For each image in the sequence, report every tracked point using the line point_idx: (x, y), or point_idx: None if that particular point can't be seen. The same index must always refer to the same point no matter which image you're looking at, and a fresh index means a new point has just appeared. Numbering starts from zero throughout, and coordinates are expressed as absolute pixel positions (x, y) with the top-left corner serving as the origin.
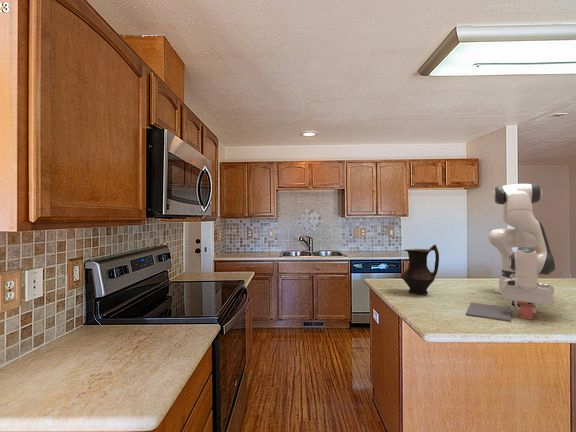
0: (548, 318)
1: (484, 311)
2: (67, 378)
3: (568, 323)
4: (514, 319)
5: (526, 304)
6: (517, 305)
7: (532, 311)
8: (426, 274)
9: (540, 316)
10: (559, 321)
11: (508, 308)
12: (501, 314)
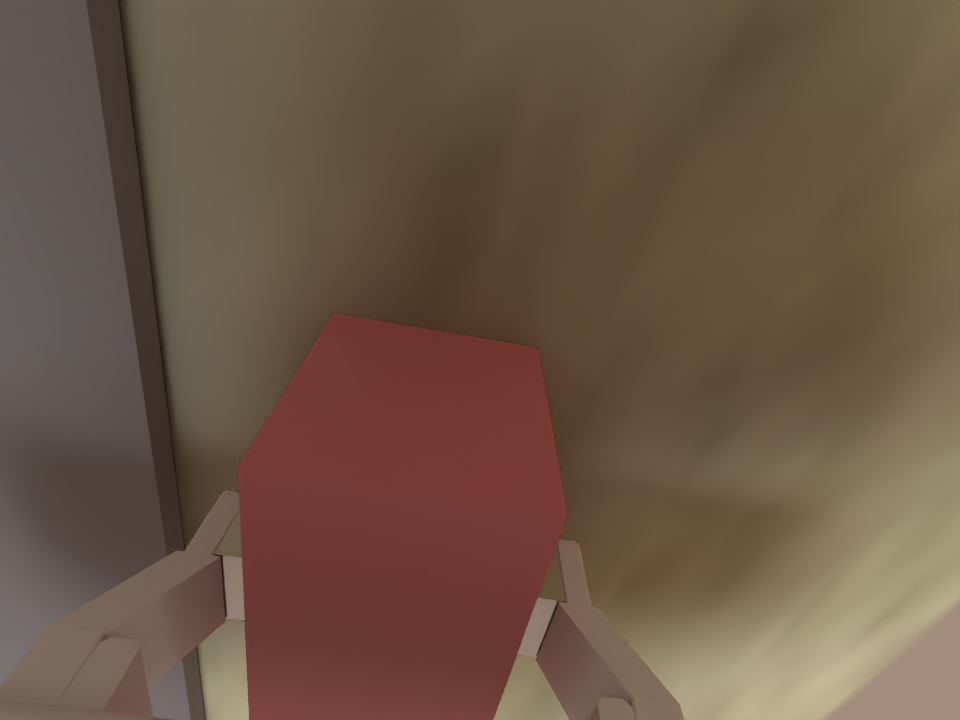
0: (748, 486)
1: None
2: None
3: (899, 621)
4: (241, 657)
5: (406, 574)
6: (188, 632)
7: None
8: None
9: (665, 413)
10: (830, 577)
11: (37, 115)
12: (44, 612)
